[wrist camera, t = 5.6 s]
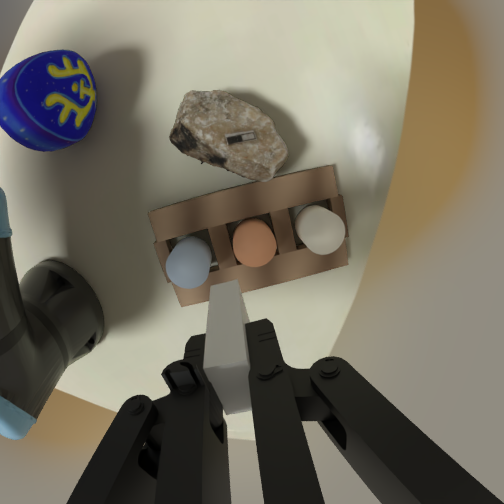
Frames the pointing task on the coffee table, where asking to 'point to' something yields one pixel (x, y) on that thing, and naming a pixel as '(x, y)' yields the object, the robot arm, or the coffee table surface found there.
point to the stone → (228, 135)
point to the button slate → (189, 263)
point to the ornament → (48, 100)
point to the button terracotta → (253, 242)
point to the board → (244, 206)
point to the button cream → (320, 229)
